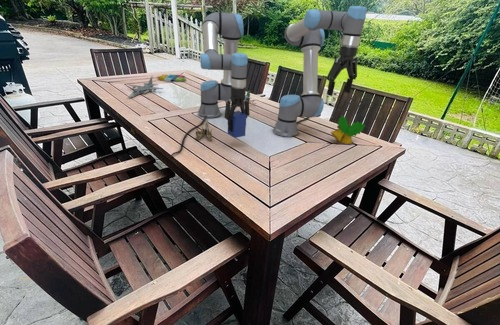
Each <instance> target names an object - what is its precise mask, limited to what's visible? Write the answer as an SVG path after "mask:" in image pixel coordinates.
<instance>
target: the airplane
mask: <svg viewBox="0 0 500 325" xmlns="http://www.w3.org/2000/svg"><path fill="white" fill-rule="evenodd" d="M153 77H154V76H153V75H151V76H150V78H149V80H148V81H147V82H148V83H147V82H143V85H136V84H128V86H129V87H132V88H131V90H133V92H131V93H130V94H129V95H128V97H127V99H132V98H135V97H137V96H139V95H140V94H144V95H145V94H147V93H149V92H150V91H151V92H152V93H154V92H155V91H157V90H163V89H164V87H155V86H160V83H159V84H158V83H153ZM134 89H135V90H134Z"/></svg>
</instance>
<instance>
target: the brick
mask: <svg viewBox="0 0 500 325" xmlns="http://www.w3.org/2000/svg"><path fill="white" fill-rule="evenodd" d="M232 120H233V132H231V131H229V125H228V124H227V134H228V135H229V136H231V137H232V138H234V139H237V138H241V137H244V136H245V137H246V127H247V118H246V114H244V113H242V112H241V110H235V111H234V114H233V117H232Z"/></svg>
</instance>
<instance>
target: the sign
mask: <svg viewBox="0 0 500 325" xmlns="http://www.w3.org/2000/svg"><path fill="white" fill-rule="evenodd" d="M185 77H186V76H185V75H181V74H162V75H158V76H156V78H157V79H158V80H159V81H164V82H181V83H182V82H185V81H187V79H186V78H185Z"/></svg>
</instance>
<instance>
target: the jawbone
mask: <svg viewBox="0 0 500 325" xmlns="http://www.w3.org/2000/svg"><path fill="white" fill-rule="evenodd" d="M195 129H196V131H195V139H196V140H199V141H200V139H201V138H203V137H205V136H206V137H207V139H208V141H212V137H213V134H212V130H213V129H211V130H210V127H209V119H205V120H204V126H202V127H201V130H199V129H198V127H196V128H195Z"/></svg>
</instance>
